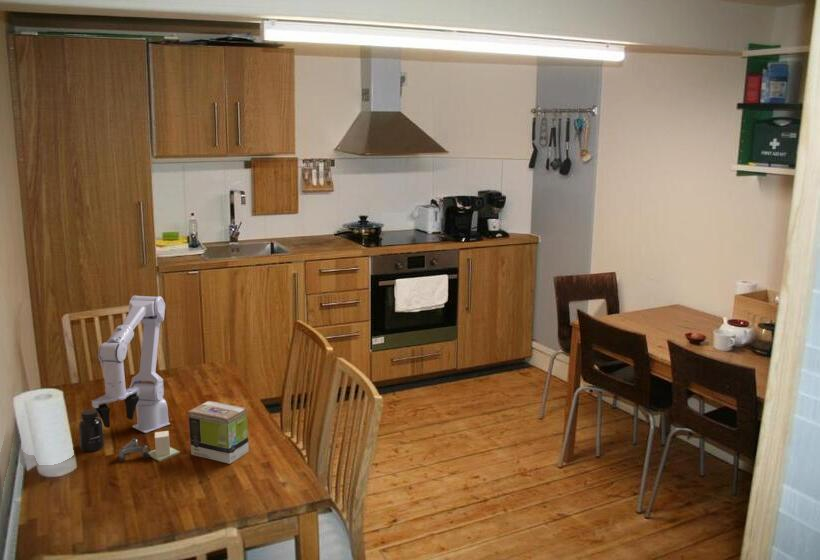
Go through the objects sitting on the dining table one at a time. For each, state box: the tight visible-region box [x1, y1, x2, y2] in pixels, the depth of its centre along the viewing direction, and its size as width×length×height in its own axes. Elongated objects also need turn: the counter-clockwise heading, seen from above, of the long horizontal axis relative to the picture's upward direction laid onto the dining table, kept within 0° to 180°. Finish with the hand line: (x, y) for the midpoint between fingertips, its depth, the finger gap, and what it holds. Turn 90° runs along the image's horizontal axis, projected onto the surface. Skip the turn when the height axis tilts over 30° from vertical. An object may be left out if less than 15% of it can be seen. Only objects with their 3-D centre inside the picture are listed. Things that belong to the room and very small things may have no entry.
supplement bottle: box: [78, 408, 105, 453], centre depth 232 cm, size 7×7×12 cm
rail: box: [118, 438, 150, 462], centre depth 227 cm, size 8×8×4 cm
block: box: [154, 430, 171, 456], centre depth 229 cm, size 4×4×6 cm
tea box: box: [188, 400, 250, 465], centre depth 228 cm, size 15×10×15 cm
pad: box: [148, 446, 181, 462], centre depth 229 cm, size 7×7×1 cm
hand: (118, 422), depth 228 cm, fingers open, 7 cm apart
